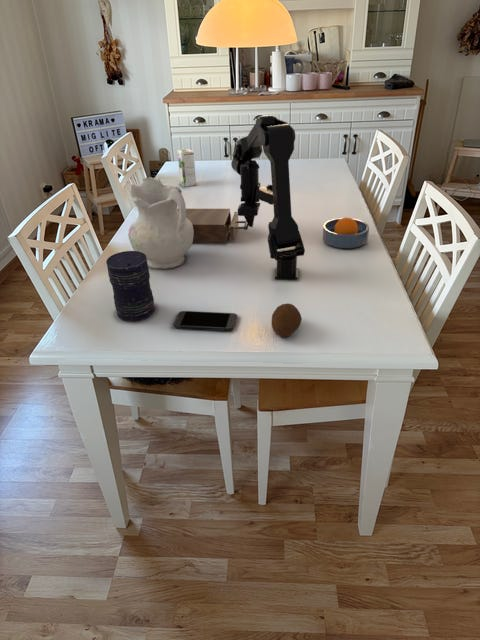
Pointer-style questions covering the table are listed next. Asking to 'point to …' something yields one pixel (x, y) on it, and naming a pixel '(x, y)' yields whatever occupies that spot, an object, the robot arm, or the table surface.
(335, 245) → the bowl
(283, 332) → the potato
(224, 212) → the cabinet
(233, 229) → the drawer
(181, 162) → the syrup box
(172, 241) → the ceramic pitcher
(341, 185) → the table surface
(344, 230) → the orange
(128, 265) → the storage jar
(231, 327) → the smartphone
